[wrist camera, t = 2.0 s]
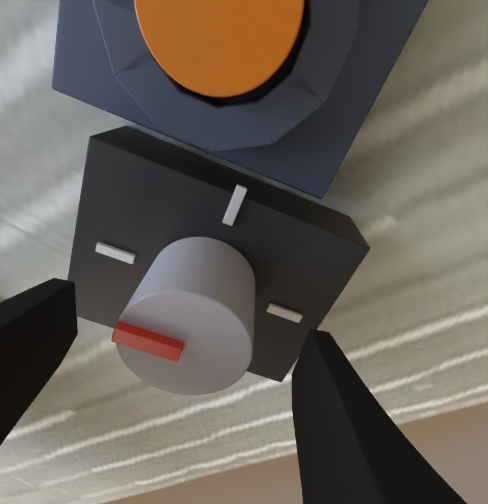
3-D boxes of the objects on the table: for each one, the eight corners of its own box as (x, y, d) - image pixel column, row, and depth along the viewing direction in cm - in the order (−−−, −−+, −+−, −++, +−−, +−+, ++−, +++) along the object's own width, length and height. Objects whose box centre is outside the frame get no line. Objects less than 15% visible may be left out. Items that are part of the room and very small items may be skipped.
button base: (428, -31, 10) (502, -83, 7) (315, 187, 13) (331, 218, 10) (113, -201, 9) (30, -359, 6) (76, 88, 12) (13, 89, 9)
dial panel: (354, 209, 14) (378, 242, 11) (276, 341, 17) (278, 390, 15) (127, 115, 12) (88, 125, 10) (94, 279, 16) (59, 320, 13)
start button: (322, -36, 8) (337, -67, 6) (263, 115, 9) (263, 122, 8) (178, -110, 7) (155, -164, 6) (142, 63, 9) (117, 58, 7)
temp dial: (272, 259, 12) (276, 328, 8) (233, 336, 13) (224, 418, 10) (166, 219, 11) (125, 276, 8) (140, 305, 13) (98, 380, 10)
